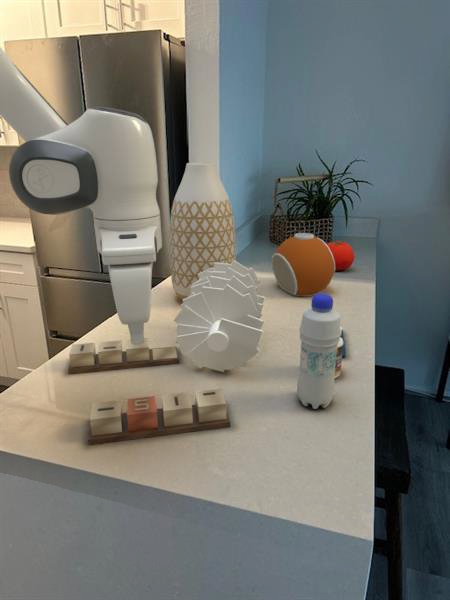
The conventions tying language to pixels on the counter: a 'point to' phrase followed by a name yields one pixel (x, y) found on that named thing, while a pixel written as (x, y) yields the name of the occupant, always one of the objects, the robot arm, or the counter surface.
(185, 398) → the front rack
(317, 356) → the bottle
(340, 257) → the tomato
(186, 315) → the spiral staircase
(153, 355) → the back rack
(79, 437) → the counter surface
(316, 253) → the alarm clock
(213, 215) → the vase
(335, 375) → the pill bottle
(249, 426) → the counter surface
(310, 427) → the counter surface
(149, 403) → the s tile
